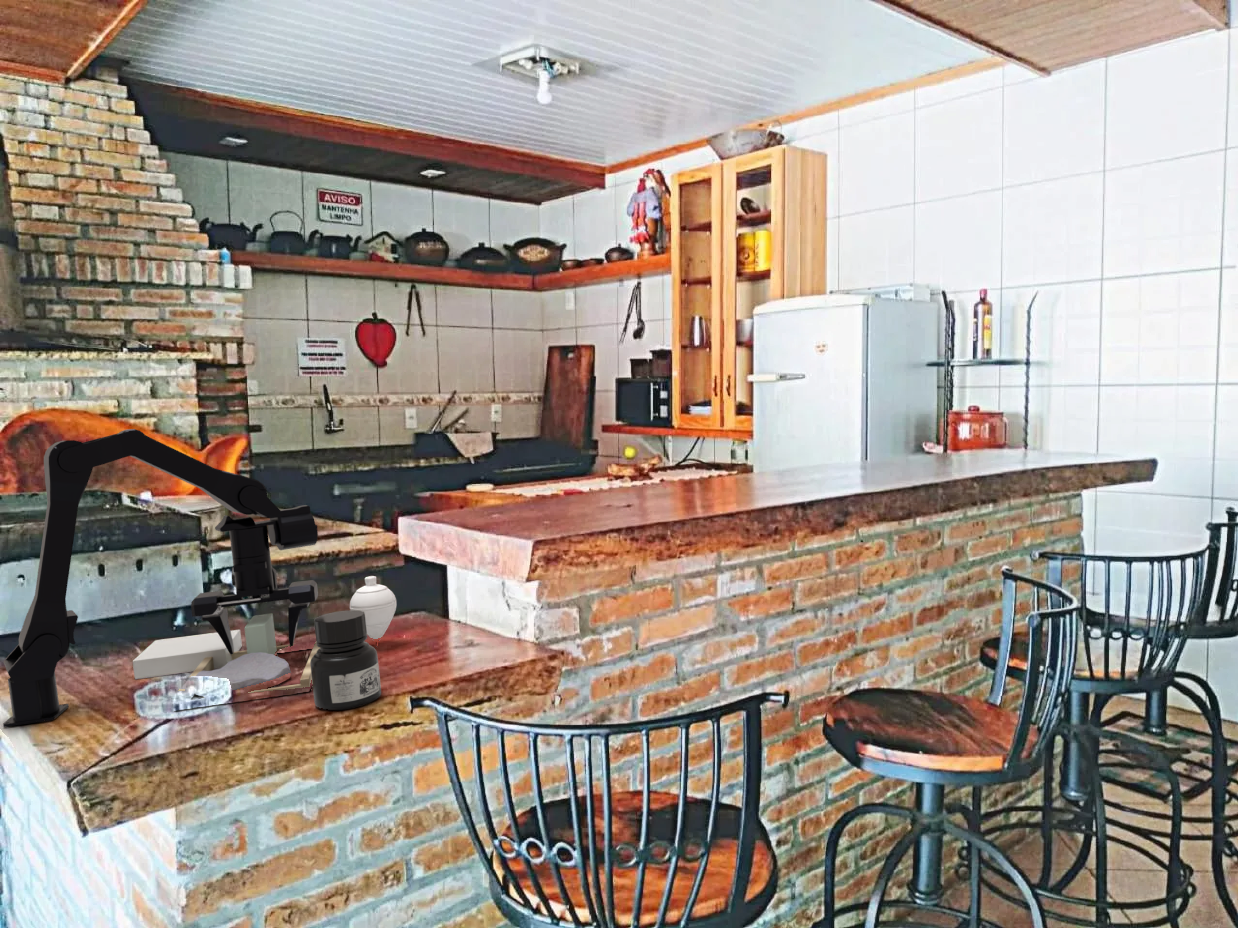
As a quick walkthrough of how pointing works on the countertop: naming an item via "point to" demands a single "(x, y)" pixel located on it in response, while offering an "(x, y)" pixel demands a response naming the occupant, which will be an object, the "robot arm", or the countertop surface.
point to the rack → (304, 682)
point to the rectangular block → (260, 634)
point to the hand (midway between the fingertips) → (262, 649)
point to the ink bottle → (344, 662)
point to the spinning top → (375, 606)
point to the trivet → (183, 654)
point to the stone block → (250, 670)
